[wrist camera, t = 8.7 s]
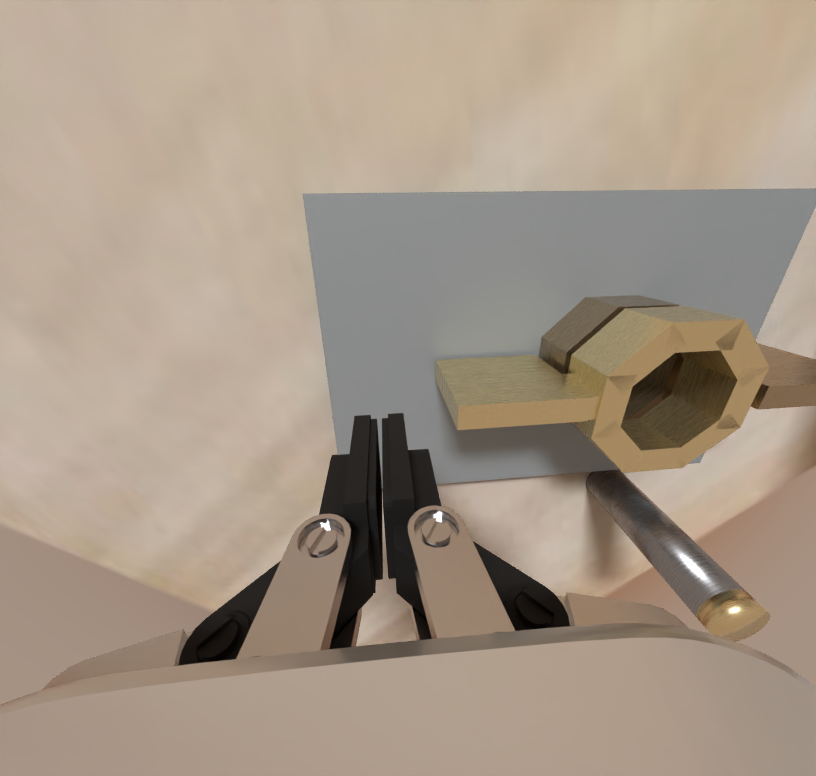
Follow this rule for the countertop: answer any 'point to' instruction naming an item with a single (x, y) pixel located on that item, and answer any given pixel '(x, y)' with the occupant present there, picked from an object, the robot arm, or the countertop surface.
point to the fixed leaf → (672, 359)
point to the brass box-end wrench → (621, 386)
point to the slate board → (519, 294)
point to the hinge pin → (679, 559)
